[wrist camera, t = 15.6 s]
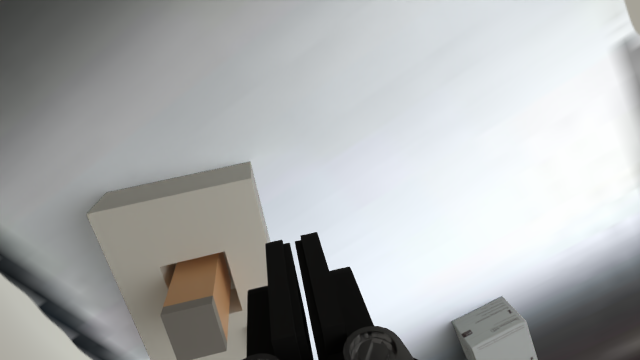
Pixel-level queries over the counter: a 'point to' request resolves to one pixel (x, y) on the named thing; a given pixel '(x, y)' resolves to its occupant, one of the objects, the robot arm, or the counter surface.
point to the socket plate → (184, 245)
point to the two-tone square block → (198, 307)
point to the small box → (495, 333)
